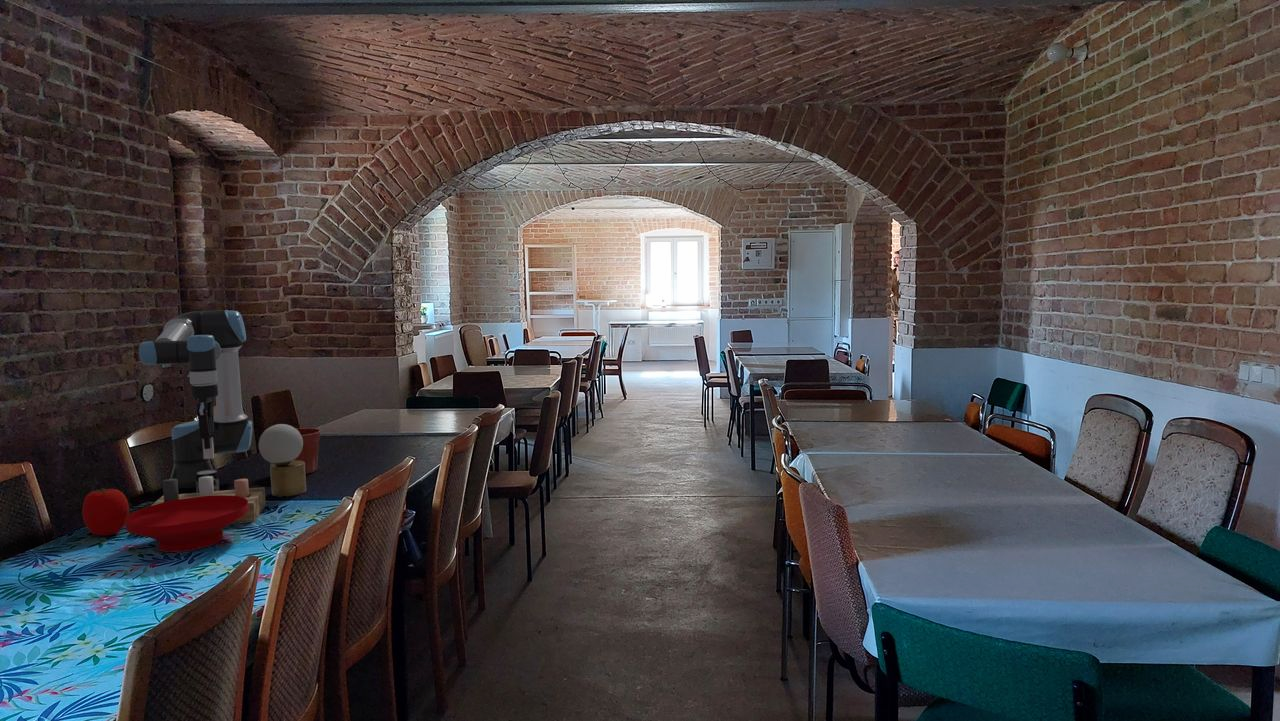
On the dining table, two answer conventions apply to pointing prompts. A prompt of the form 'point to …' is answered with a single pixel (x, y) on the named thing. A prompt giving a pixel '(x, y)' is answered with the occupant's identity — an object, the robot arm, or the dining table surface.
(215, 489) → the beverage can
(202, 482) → the plug grey
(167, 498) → the plug black
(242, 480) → the plug terracotta
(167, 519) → the bowl
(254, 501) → the plug board
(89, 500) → the tomato
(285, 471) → the lamp
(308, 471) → the flower pot
